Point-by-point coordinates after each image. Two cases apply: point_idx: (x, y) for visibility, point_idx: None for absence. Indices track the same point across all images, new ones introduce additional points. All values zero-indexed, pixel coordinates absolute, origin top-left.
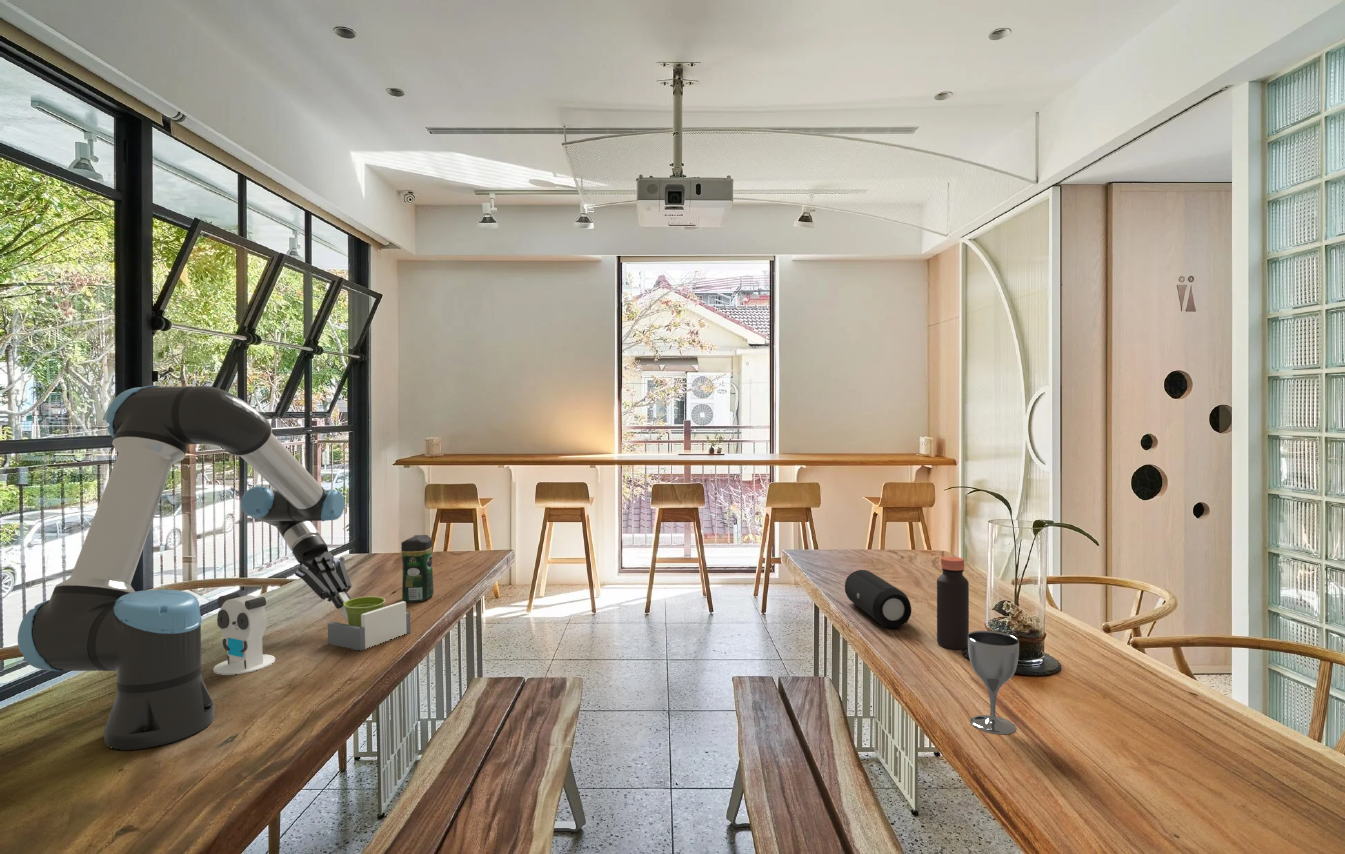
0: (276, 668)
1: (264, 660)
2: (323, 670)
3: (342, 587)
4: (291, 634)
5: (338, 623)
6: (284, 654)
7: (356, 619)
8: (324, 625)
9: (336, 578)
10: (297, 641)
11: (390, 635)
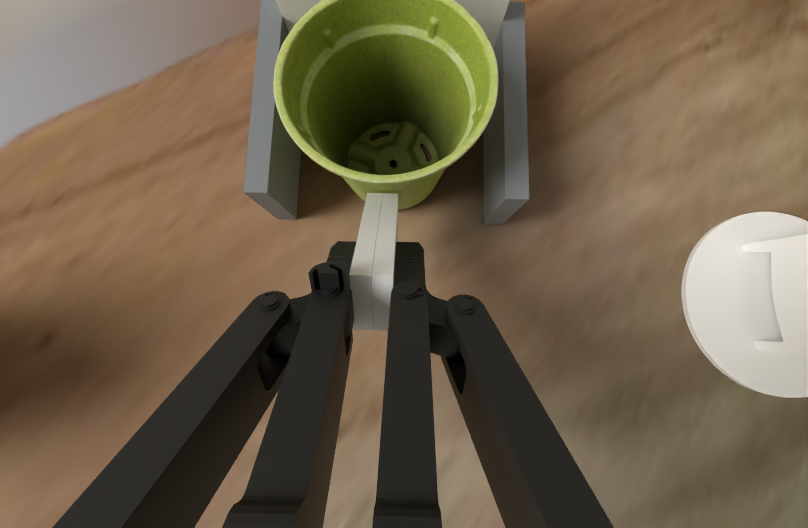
0: (732, 174)
1: (726, 265)
2: (665, 32)
3: (333, 304)
4: None
5: (510, 150)
6: (644, 272)
7: (458, 94)
8: (347, 451)
9: (316, 384)
10: (534, 362)
11: None
